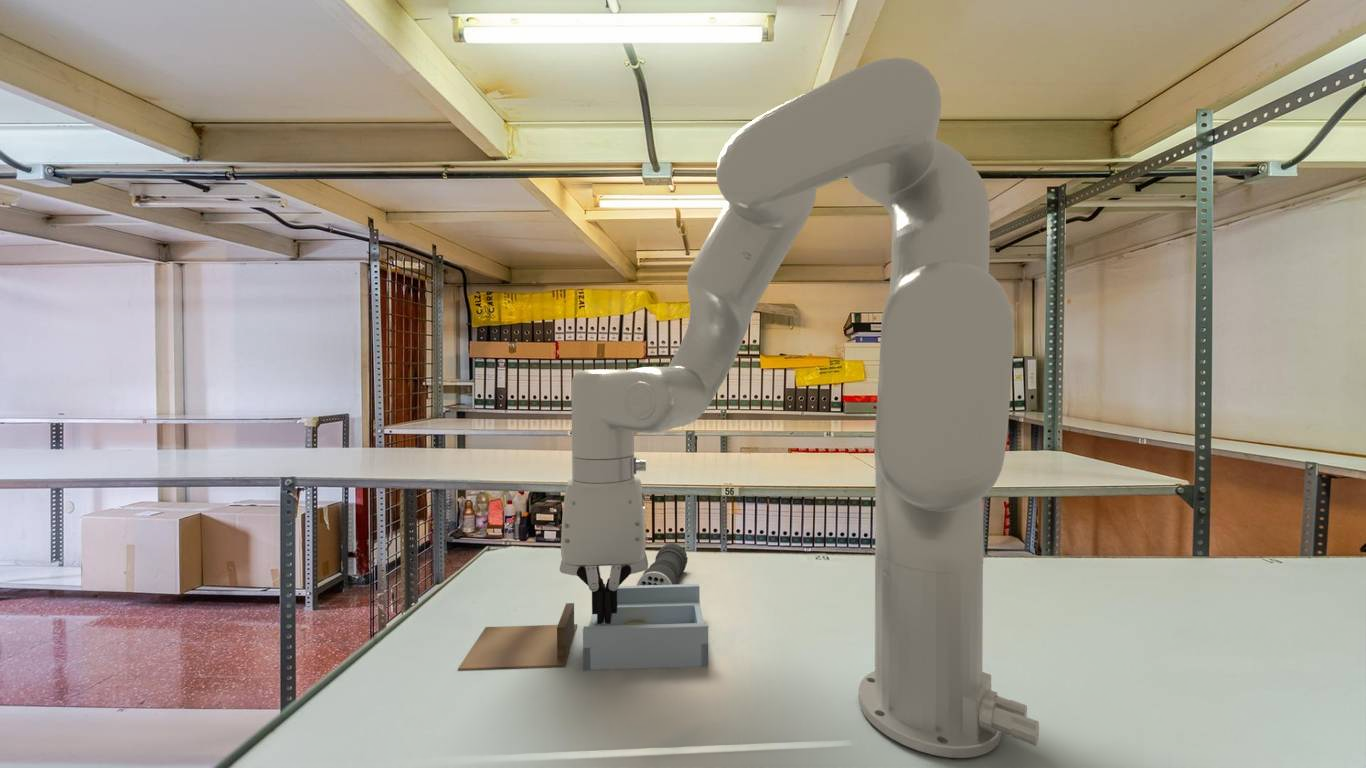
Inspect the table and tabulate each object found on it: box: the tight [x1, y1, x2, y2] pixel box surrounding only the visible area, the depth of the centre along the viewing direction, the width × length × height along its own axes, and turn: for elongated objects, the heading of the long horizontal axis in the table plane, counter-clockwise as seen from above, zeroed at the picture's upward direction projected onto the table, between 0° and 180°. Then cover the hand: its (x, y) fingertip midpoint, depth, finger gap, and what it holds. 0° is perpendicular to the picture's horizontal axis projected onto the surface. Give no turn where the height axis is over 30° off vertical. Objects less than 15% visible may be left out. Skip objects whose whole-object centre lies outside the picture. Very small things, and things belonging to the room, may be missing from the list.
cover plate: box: [457, 602, 578, 672], centre depth 63 cm, size 12×10×5 cm
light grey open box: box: [582, 583, 709, 671], centre depth 64 cm, size 14×12×5 cm
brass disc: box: [622, 621, 650, 625], centre depth 66 cm, size 4×4×1 cm
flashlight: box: [636, 543, 689, 586], centre depth 82 cm, size 15×5×5 cm, turn 171°
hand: (604, 618), depth 64 cm, fingers closed
